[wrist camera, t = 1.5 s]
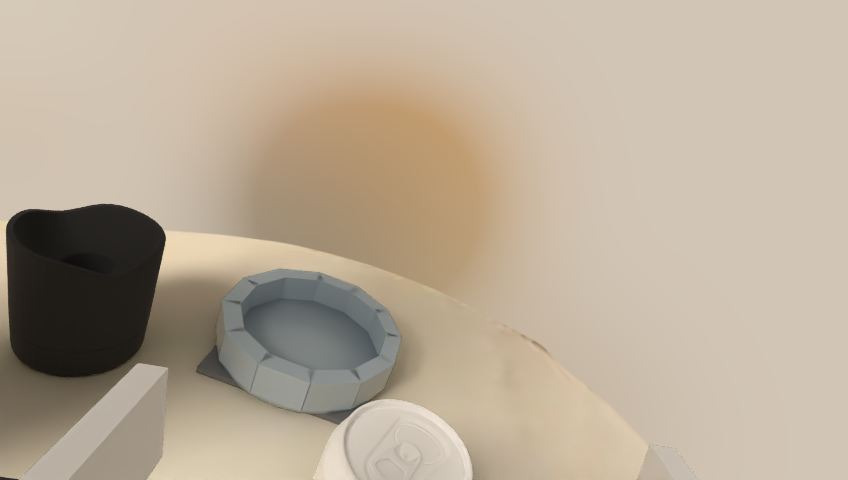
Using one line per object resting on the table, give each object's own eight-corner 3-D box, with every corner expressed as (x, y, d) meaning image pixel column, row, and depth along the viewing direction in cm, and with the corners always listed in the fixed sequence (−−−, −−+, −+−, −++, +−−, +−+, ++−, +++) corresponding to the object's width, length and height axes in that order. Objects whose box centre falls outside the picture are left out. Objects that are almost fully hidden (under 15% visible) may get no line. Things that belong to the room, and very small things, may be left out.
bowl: (178, 370, 40) (185, 336, 39) (261, 279, 55) (268, 252, 53) (368, 440, 41) (381, 409, 39) (399, 331, 55) (410, 306, 54)
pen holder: (127, 391, 37) (144, 280, 33) (-26, 372, 34) (-27, 248, 31) (161, 315, 46) (179, 218, 42) (40, 294, 43) (46, 188, 39)
